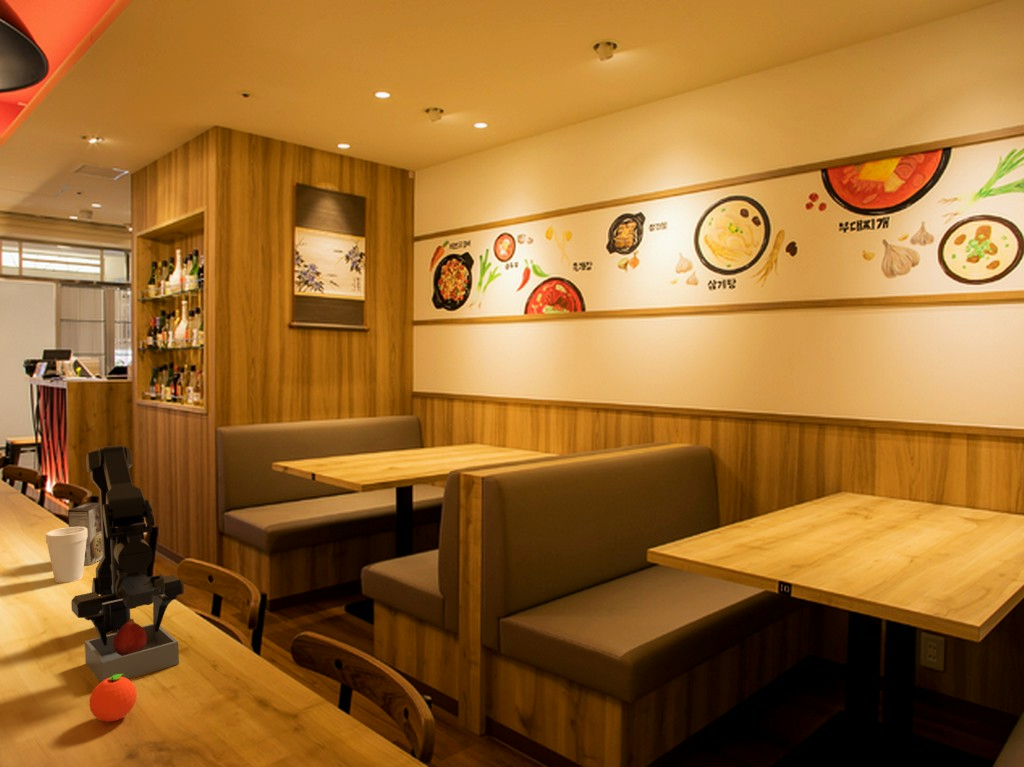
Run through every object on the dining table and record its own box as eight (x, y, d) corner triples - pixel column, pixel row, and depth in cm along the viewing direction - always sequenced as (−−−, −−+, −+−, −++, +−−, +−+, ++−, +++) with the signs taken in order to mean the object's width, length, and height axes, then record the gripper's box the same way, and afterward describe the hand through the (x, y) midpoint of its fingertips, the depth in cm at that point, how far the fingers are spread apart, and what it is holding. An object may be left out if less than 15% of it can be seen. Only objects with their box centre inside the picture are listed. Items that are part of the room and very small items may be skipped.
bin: (85, 663, 140) (84, 641, 140) (157, 643, 150) (156, 622, 149) (103, 686, 131) (102, 662, 131) (179, 664, 140) (178, 641, 140)
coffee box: (89, 555, 213) (87, 502, 212) (110, 555, 212) (108, 502, 211) (69, 565, 204) (66, 509, 203) (91, 565, 203) (88, 509, 202)
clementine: (106, 706, 124) (104, 666, 124) (147, 704, 124) (145, 664, 124) (81, 731, 116) (79, 688, 116) (125, 729, 116) (124, 686, 116)
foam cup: (74, 584, 187) (72, 535, 186) (39, 584, 187) (37, 536, 186) (96, 573, 196) (94, 526, 196) (63, 573, 197) (61, 526, 196)
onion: (110, 667, 136) (109, 626, 136) (117, 654, 142) (116, 615, 141) (144, 663, 138) (143, 623, 138) (150, 650, 144) (149, 612, 143)
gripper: (83, 580, 127) (87, 666, 128) (192, 558, 140) (195, 636, 140) (69, 566, 135) (72, 647, 136) (173, 546, 148) (175, 620, 149)
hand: (131, 638), depth 140 cm, fingers open, 9 cm apart
